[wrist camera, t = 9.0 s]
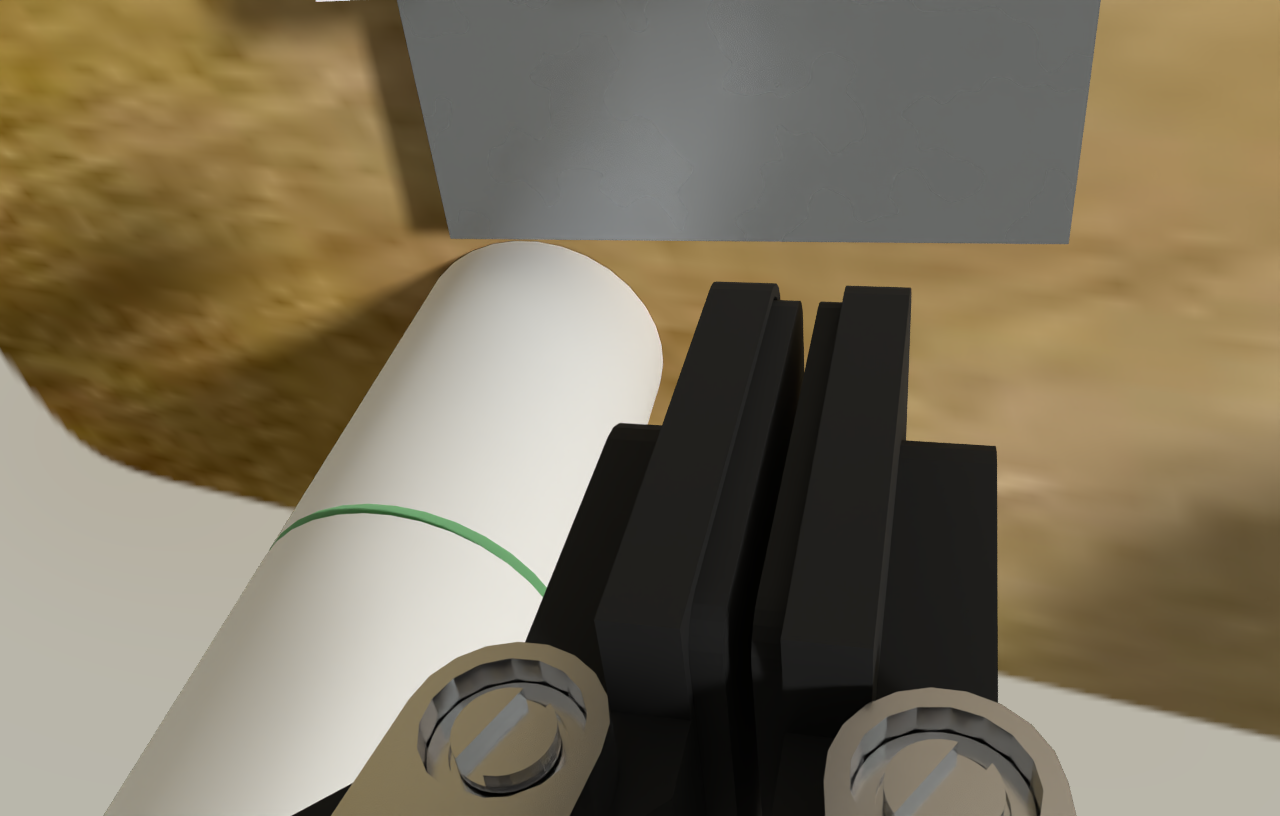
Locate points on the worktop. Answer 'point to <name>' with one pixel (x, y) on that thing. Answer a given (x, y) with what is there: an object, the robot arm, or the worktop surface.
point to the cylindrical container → (411, 533)
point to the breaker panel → (755, 118)
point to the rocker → (329, 0)
